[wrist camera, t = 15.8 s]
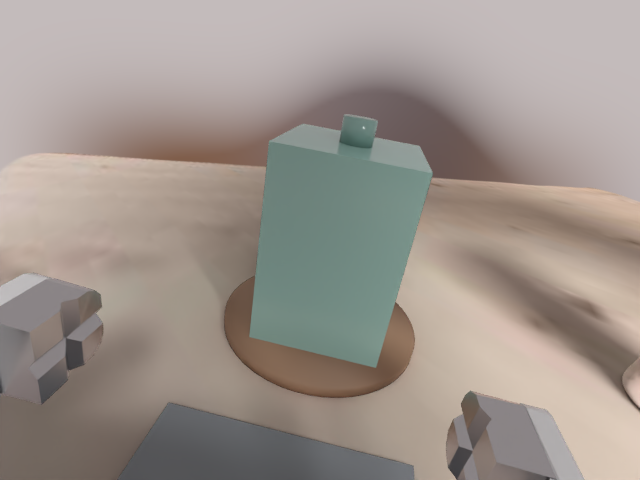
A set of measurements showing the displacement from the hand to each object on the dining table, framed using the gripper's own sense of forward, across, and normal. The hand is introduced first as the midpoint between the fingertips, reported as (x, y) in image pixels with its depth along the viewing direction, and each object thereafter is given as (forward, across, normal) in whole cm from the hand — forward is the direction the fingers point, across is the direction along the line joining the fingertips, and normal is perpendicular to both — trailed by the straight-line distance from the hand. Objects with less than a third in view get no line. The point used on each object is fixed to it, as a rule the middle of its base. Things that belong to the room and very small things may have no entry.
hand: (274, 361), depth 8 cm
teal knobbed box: (+12, +1, -7) cm, 14 cm away
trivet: (+12, +1, -8) cm, 14 cm away
